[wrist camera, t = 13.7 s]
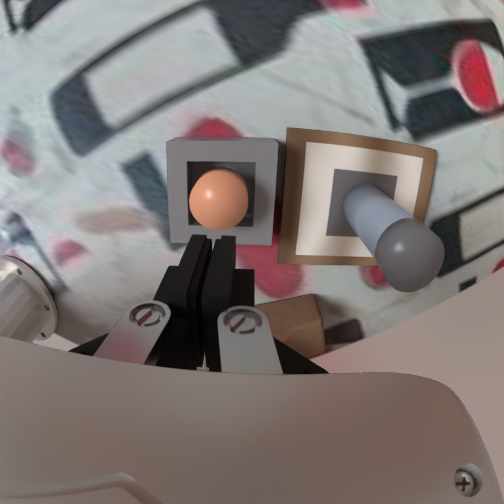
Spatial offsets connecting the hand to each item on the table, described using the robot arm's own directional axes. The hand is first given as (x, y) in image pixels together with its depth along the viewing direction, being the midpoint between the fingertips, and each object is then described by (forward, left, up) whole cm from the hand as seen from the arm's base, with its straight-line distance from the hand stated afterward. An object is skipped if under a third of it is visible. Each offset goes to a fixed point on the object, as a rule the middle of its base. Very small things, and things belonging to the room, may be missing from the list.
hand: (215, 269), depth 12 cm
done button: (-1, 0, -12) cm, 12 cm away
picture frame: (+11, -1, -15) cm, 19 cm away
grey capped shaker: (+11, -1, -14) cm, 18 cm away
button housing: (-1, 0, -15) cm, 15 cm away
